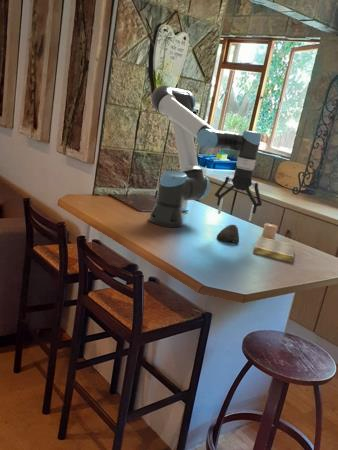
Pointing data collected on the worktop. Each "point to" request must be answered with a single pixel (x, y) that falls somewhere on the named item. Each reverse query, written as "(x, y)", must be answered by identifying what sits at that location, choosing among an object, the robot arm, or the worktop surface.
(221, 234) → the stone
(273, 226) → the peach rounded capsule
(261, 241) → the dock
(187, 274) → the worktop surface
